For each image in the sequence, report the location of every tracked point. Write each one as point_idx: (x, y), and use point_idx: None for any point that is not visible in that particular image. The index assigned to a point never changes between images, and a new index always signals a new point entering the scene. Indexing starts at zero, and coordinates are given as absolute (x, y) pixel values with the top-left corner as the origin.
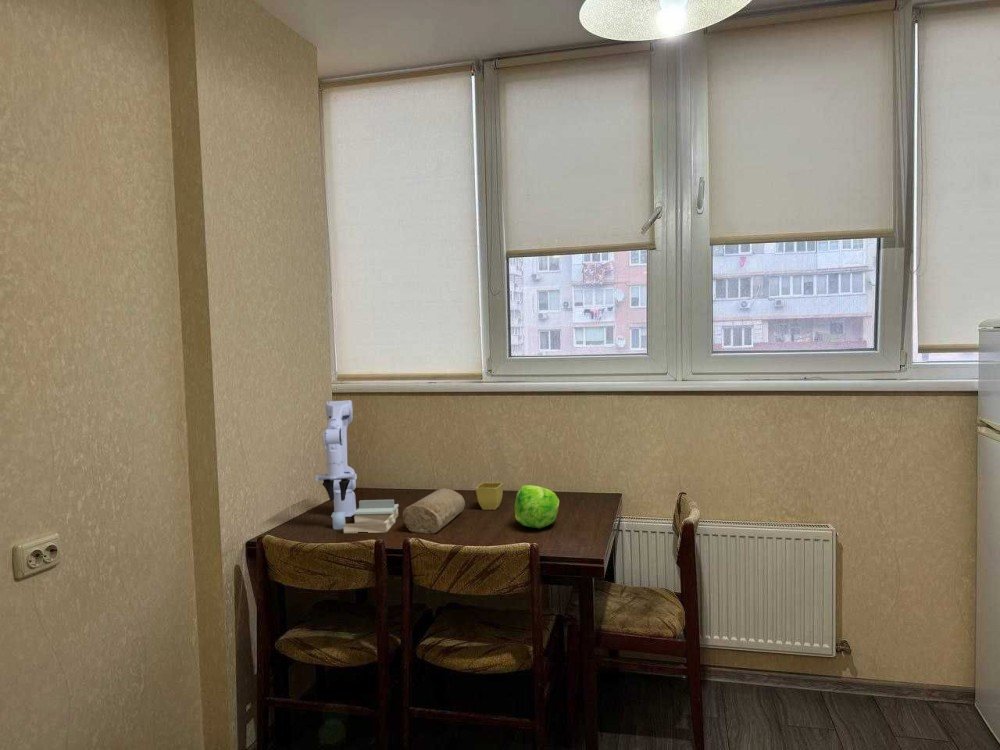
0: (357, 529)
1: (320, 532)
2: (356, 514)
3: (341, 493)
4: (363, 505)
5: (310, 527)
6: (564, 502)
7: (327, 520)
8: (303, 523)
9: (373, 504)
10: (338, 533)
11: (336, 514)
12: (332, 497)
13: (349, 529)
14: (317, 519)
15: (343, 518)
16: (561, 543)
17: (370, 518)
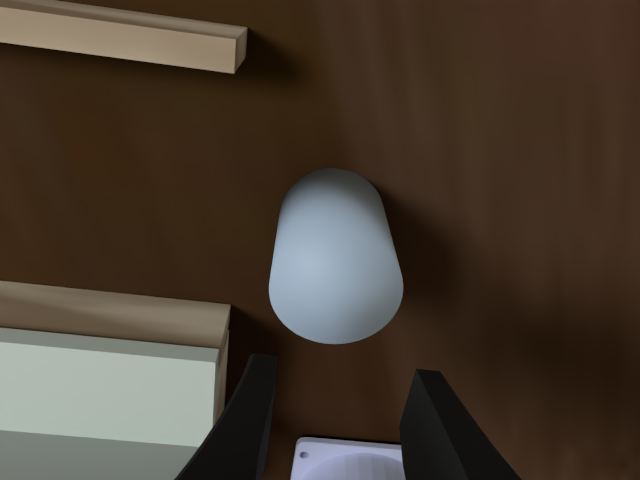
0: (90, 10)
1: (482, 107)
2: None
3: (248, 429)
4: (153, 466)
5: (575, 267)
6: None
7: None
8: (628, 368)
9: (55, 464)
10: (301, 36)
11: (344, 231)
12: (417, 423)
13: (178, 24)
14: (529, 430)
15: (280, 232)
16: None
17: (84, 312)
